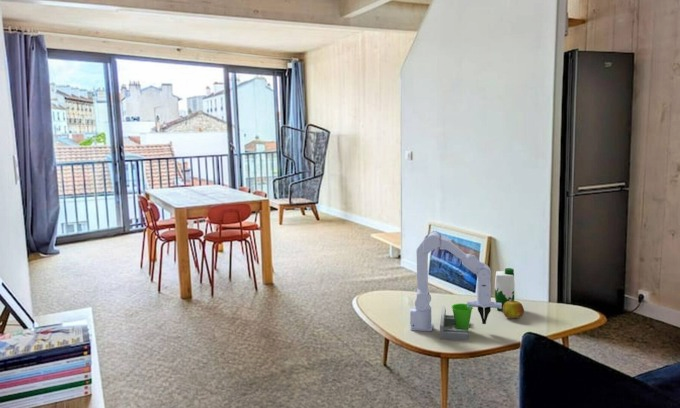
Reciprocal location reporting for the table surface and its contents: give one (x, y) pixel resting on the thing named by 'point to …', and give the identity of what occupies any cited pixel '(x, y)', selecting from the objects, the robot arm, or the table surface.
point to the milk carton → (504, 286)
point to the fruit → (513, 309)
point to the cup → (462, 316)
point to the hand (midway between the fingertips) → (484, 323)
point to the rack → (451, 333)
